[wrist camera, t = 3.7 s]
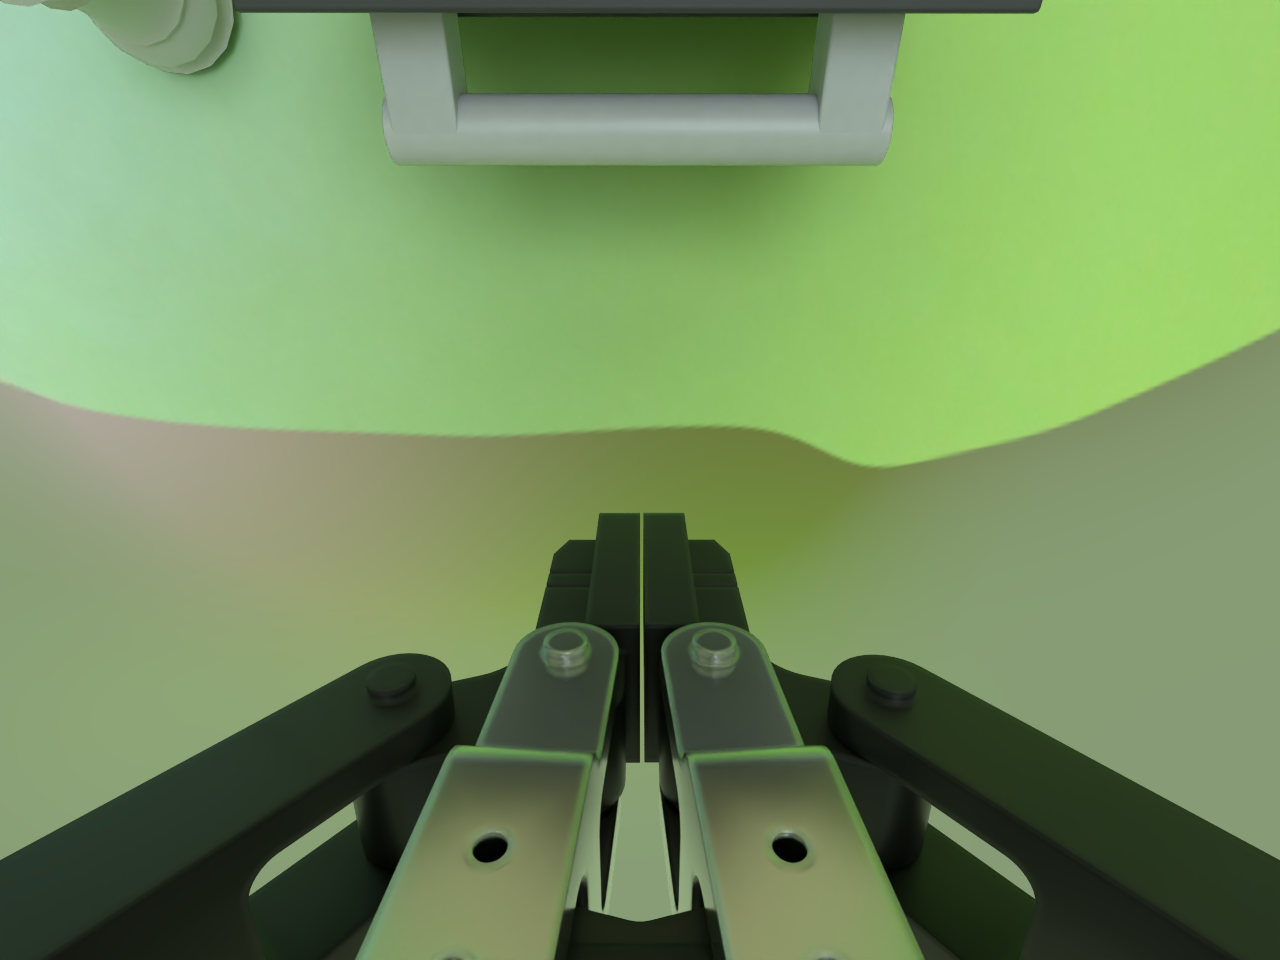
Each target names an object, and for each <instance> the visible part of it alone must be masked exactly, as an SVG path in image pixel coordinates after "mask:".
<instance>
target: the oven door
mask: <svg viewBox="0 0 1280 960" xmlns="http://www.w3.org/2000/svg"><path fill="white" fill-rule="evenodd" d="M232 1H233V4H234V7H235V9H236V11H238V12H241V13H370V18H371V23H372V29H373V34H374V39H375V44H376V50H377V55H378V60H379V66H380V71H381V76H382V81H383V87H384V92H385V97H384V100H383V106H382V123H383V131H384V137H385V141H386V145H387V148H388V151H389V154H390V156H391V158H392V160H393V161H394V162H395V163H396V164H397V165H766V166H876V165H879V164H880V163H881V162H882V161H883V159H884V157H885V155H886V153H887V150H888V147H889V143H890V139H891V134H892V128H893V103H892V99H891V97H890V93H891V87H892V82H893V77H894V71H895V66H896V61H897V55H898V50H899V45H900V39H901V34H902V29H903V23H904V18H905V13H1028V14H1034V13H1036V12H1038V11H1039V9H1040V7H1041V4H1042V0H232ZM458 17H818V22H817V30H816V37H815V45H814V53H813V61H812V69H811V77H810V85H809V93H467V86H466V78H465V70H464V62H463V54H462V47H461V39H460V31H459V23H458Z"/></svg>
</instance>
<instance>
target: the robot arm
mask: <svg viewBox="0 0 1280 960" xmlns="http://www.w3.org/2000/svg"><path fill="white" fill-rule="evenodd" d="M643 532H644V534H643V536H644V539H643V631H644V752H645V753H644V754H645V762H659V780H660V782H659V815H660V823H661V831H662V839H663V847H664V855H665V863H666V871H667V879H668V888H669V896H670V904H671V912H672V915H670V916H666V917H662V918H658V919H654V920H650V921H645V922H636V921H630V920H625V919H622V918H618V917H614V916H610V915H608V912H609V904H610V896H611V888H612V879H613V871H614V863H615V855H616V847H617V839H618V831H619V823H620V814H621V794H622V792H623V789H624V786H625V773H626V763H639V762H640V513H600V514H599V520H598V528H597V535H596V540H569V541H568V542H567V543H566V544H564V545H563V546H562V547H561V548H560V549H559V550H558V551H557V552H556V553H555V554H554V556H553V560H552V564H551V568H550V574H549V577H548V581H547V588H546V589H545V593H544V597H543V601H542V606H541V610H540V614H539V618H538V622H537V626H536V630H534V631H532V632H531V633H529V634H527V635H526V636H525V637H524V638H522V639H521V640H520V642H519V643H518V644H517V645H516V647H515V649H514V651H513V654H512V656H511V659H510V661H509V664H508V666H506V667H504V668H502V669H500V670H497V671H495V672H492V673H489V674H485V675H481V676H476V677H472V678H467V679H462V680H458V681H453V682H452V681H451V674H450V671H449V669H448V668H447V666H446V665H445V664H444V663H443V662H441V661H440V660H438V659H436V658H434V657H431V656H428V655H423V654H413V653H406V654H396V655H390V656H386V657H382V658H379V659H376V660H373V661H370V662H368V663H366V664H364V665H362V666H360V667H358V668H356V669H354V670H352V671H351V672H349V673H347V674H345V675H343V676H341V677H339V678H338V679H336V680H334V681H332V682H330V683H328V684H327V685H325V686H323V687H321V688H319V689H317V690H315V691H314V692H312V693H310V694H308V695H306V696H304V697H302V698H300V699H299V700H297V701H295V702H293V703H291V704H289V705H287V706H286V707H284V708H282V709H280V710H278V711H276V712H274V713H273V714H271V715H269V716H267V717H265V718H263V719H262V720H260V721H258V722H256V723H254V724H252V725H250V726H248V727H247V728H245V729H243V730H241V731H239V732H237V733H236V734H234V735H232V736H230V737H228V738H226V739H224V740H222V741H221V742H219V743H217V744H215V745H213V746H211V747H210V748H208V749H206V750H204V751H202V752H200V753H198V754H197V755H195V756H193V757H191V758H189V759H187V760H185V761H184V762H182V763H180V764H178V765H176V766H174V767H172V768H171V769H169V770H167V771H165V772H163V773H161V774H159V775H158V776H156V777H154V778H152V779H150V780H148V781H146V782H145V783H143V784H141V785H139V786H137V787H135V788H133V789H132V790H130V791H128V792H126V793H124V794H122V795H120V796H119V797H117V798H115V799H113V800H111V801H109V802H107V803H106V804H104V805H102V806H100V807H98V808H96V809H94V810H93V811H91V812H89V813H87V814H85V815H83V816H81V817H80V818H78V819H76V820H74V821H72V822H70V823H69V824H67V825H65V826H63V827H61V828H59V829H57V830H55V831H54V832H52V833H50V834H48V835H46V836H44V837H43V838H41V839H39V840H37V841H35V842H33V843H31V844H29V845H28V846H26V847H24V848H22V849H20V850H18V851H16V852H15V853H13V854H11V855H9V856H7V857H5V858H3V859H2V860H0V960H1280V860H1278V859H1276V858H1275V857H1273V856H1271V855H1269V854H1267V853H1265V852H1264V851H1262V850H1260V849H1258V848H1256V847H1254V846H1252V845H1251V844H1249V843H1247V842H1245V841H1243V840H1241V839H1239V838H1238V837H1236V836H1234V835H1232V834H1230V833H1228V832H1226V831H1225V830H1223V829H1221V828H1219V827H1217V826H1215V825H1213V824H1212V823H1210V822H1208V821H1206V820H1204V819H1202V818H1200V817H1199V816H1197V815H1195V814H1193V813H1191V812H1189V811H1187V810H1186V809H1184V808H1182V807H1180V806H1178V805H1176V804H1174V803H1173V802H1171V801H1169V800H1167V799H1165V798H1163V797H1161V796H1160V795H1158V794H1156V793H1154V792H1152V791H1150V790H1148V789H1147V788H1145V787H1143V786H1141V785H1139V784H1137V783H1135V782H1134V781H1132V780H1130V779H1128V778H1126V777H1124V776H1122V775H1121V774H1119V773H1117V772H1115V771H1113V770H1111V769H1109V768H1108V767H1106V766H1104V765H1102V764H1100V763H1098V762H1096V761H1095V760H1093V759H1091V758H1089V757H1087V756H1085V755H1084V754H1082V753H1080V752H1078V751H1076V750H1074V749H1072V748H1070V747H1069V746H1067V745H1065V744H1063V743H1061V742H1059V741H1058V740H1056V739H1054V738H1052V737H1050V736H1048V735H1046V734H1044V733H1043V732H1041V731H1039V730H1037V729H1035V728H1033V727H1032V726H1030V725H1028V724H1026V723H1024V722H1022V721H1020V720H1019V719H1017V718H1015V717H1013V716H1011V715H1009V714H1007V713H1006V712H1004V711H1002V710H1000V709H998V708H996V707H994V706H992V705H991V704H989V703H987V702H985V701H983V700H981V699H980V698H978V697H976V696H974V695H972V694H970V693H968V692H967V691H965V690H963V689H961V688H959V687H957V686H955V685H954V684H952V683H950V682H948V681H946V680H944V679H942V678H941V677H939V676H937V675H935V674H933V673H931V672H929V671H928V670H926V669H924V668H922V667H920V666H918V665H916V664H914V663H911V662H908V661H906V660H903V659H899V658H895V657H890V656H884V655H862V656H856V657H853V658H849V659H847V660H845V661H843V662H842V663H841V664H839V665H838V666H837V667H836V669H835V670H834V672H833V674H832V679H831V681H829V680H824V679H819V678H815V677H810V676H805V675H801V674H797V673H794V672H791V671H788V670H786V669H783V668H781V667H779V666H777V665H775V664H774V663H772V662H771V661H770V659H769V656H768V654H767V651H766V649H765V647H764V645H763V644H762V643H761V642H760V640H759V639H758V638H756V637H755V636H754V635H753V634H751V633H750V632H749V628H748V624H747V620H746V616H745V612H744V608H743V604H742V600H741V597H740V593H739V589H738V587H737V581H736V577H735V574H734V569H733V565H732V561H731V557H730V554H729V553H728V552H727V551H726V550H725V549H724V548H723V547H722V546H720V545H719V544H718V543H717V542H716V541H715V540H688V537H687V530H686V523H685V515H684V513H644V529H643ZM351 802H353V803H354V808H355V813H356V818H357V820H355V821H354V822H353V823H351V824H350V825H348V826H347V827H346V828H344V829H343V830H341V831H340V832H339V833H337V834H336V835H334V836H333V837H332V838H330V839H329V840H327V841H326V842H324V843H323V844H322V845H320V846H319V847H317V848H316V849H315V850H313V851H312V852H310V853H309V854H308V855H306V856H305V857H303V858H302V859H301V860H299V861H298V862H296V863H295V864H294V865H292V866H291V867H290V868H288V869H287V870H285V871H284V872H282V873H281V874H280V875H278V876H277V877H275V878H274V879H273V880H271V881H270V882H268V883H267V884H266V885H264V886H263V887H261V888H260V889H259V890H257V891H256V892H254V893H253V894H252V895H250V896H249V892H250V888H251V886H252V883H253V881H254V880H255V878H256V876H257V875H258V873H259V872H260V870H261V869H262V868H263V867H264V866H265V864H266V863H267V862H268V861H269V860H270V859H271V858H273V857H274V856H275V855H276V854H278V853H279V852H281V851H282V850H283V849H285V848H286V847H288V846H289V845H291V844H292V843H294V842H295V841H296V840H298V839H299V838H301V837H302V836H304V835H305V834H307V833H308V832H310V831H311V830H312V829H314V828H315V827H317V826H318V825H320V824H321V823H323V822H324V821H325V820H327V819H328V818H330V817H331V816H333V815H334V814H336V813H337V812H339V811H340V810H341V809H343V808H344V807H346V806H347V805H349V804H350V803H351ZM931 805H933V806H934V807H936V808H937V809H939V810H940V811H942V812H943V813H944V814H946V815H947V816H949V817H950V818H952V819H953V820H955V821H956V822H957V823H959V824H960V825H962V826H963V827H965V828H966V829H968V830H969V831H971V832H972V833H973V834H975V835H976V836H978V837H979V838H981V839H982V840H984V841H985V842H986V843H988V844H989V845H991V846H992V847H994V848H995V849H997V850H998V851H1000V852H1001V853H1002V854H1004V855H1005V856H1007V857H1008V858H1009V859H1010V860H1012V861H1013V862H1014V863H1015V864H1016V865H1017V866H1018V867H1019V868H1020V869H1021V871H1022V872H1023V873H1024V875H1025V876H1026V877H1027V879H1028V881H1029V882H1030V884H1031V886H1032V889H1033V891H1034V895H1035V899H1034V898H1033V897H1031V896H1030V895H1028V894H1027V893H1026V892H1024V891H1023V890H1021V889H1020V888H1019V887H1017V886H1016V885H1014V884H1013V883H1012V882H1010V881H1009V880H1007V879H1006V878H1005V877H1003V876H1002V875H1000V874H999V873H998V872H996V871H995V870H993V869H992V868H991V867H989V866H988V865H986V864H985V863H984V862H982V861H981V860H979V859H978V858H977V857H975V856H974V855H972V854H971V853H970V852H968V851H967V850H965V849H964V848H963V847H961V846H960V845H958V844H957V843H956V842H954V841H953V840H951V839H950V838H948V837H947V836H946V835H944V834H943V833H942V832H940V831H939V830H937V829H936V828H935V827H933V826H932V825H930V824H929V823H928V819H929V814H930V809H931Z"/></svg>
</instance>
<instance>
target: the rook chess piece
mask: <svg viewBox="0 0 1280 960" xmlns="http://www.w3.org/2000/svg"><path fill="white" fill-rule="evenodd" d="M0 1H2V2H4V3H6V4H14V5H22V6H33V5H36V4H38V3H42V4H43V5H45V6H47V7H49V8H52V9H60V10H68V11H72V10H74V9H78V10H80V11H82V12H84V13H86V14H87V15H88V16H89V17H90V18H91V19H92V20H93V22H94V24H95V25H96V26H97V27H98V28H99V29H100V30H101V31H102V32H103V33H104V34H105V35H106V36H107V37H108V38H109V40H110V41H111V42H112V43H113V44H114V45H115V46H116V47H118V48H119V49H120V50H122V51H123V52H125V53H127V54H129V55H131V56H132V57H134V58H136V59H138V60H140V61H142V62H143V63H145V64H147V65H153V66H155V67H157V68H158V69H160V70H162V71H166V72H174V73H183V74H191V73H193V72H196V71H199V70H202V69H204V68H207V67H210V66H211V65H212V64H213V63H214V62H215V61H216V60H217V59H218V57H219V56H220V55H221V54H222V53H223V52H224V51H225V49H226V48H227V45H228V42H229V38H230V34H231V31H232V27H233V24H234V18H233V8H232V0H0Z"/></svg>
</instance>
